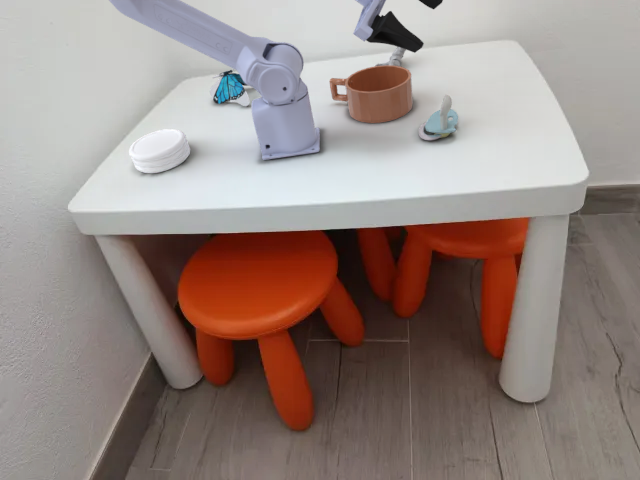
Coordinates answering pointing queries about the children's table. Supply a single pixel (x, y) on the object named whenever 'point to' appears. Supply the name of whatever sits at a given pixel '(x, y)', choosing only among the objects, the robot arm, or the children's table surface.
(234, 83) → the decorative butterfly
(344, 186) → the children's table surface
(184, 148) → the white round disc
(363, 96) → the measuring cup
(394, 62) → the soldier figure
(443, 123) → the pacifier
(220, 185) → the children's table surface
